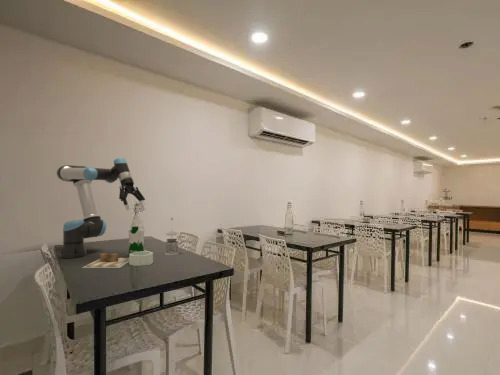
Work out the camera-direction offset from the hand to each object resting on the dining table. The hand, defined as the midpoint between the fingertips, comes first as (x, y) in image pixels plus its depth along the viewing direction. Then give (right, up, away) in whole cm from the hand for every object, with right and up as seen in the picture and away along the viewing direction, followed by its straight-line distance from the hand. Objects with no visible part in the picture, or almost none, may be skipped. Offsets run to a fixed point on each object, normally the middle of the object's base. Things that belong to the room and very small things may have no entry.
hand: (136, 209), depth 184 cm
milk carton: (-4, -32, +11) cm, 34 cm away
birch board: (-14, -31, -7) cm, 35 cm away
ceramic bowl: (+5, -32, -6) cm, 33 cm away
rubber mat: (-14, -32, -7) cm, 35 cm away
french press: (+17, -32, +21) cm, 42 cm away
